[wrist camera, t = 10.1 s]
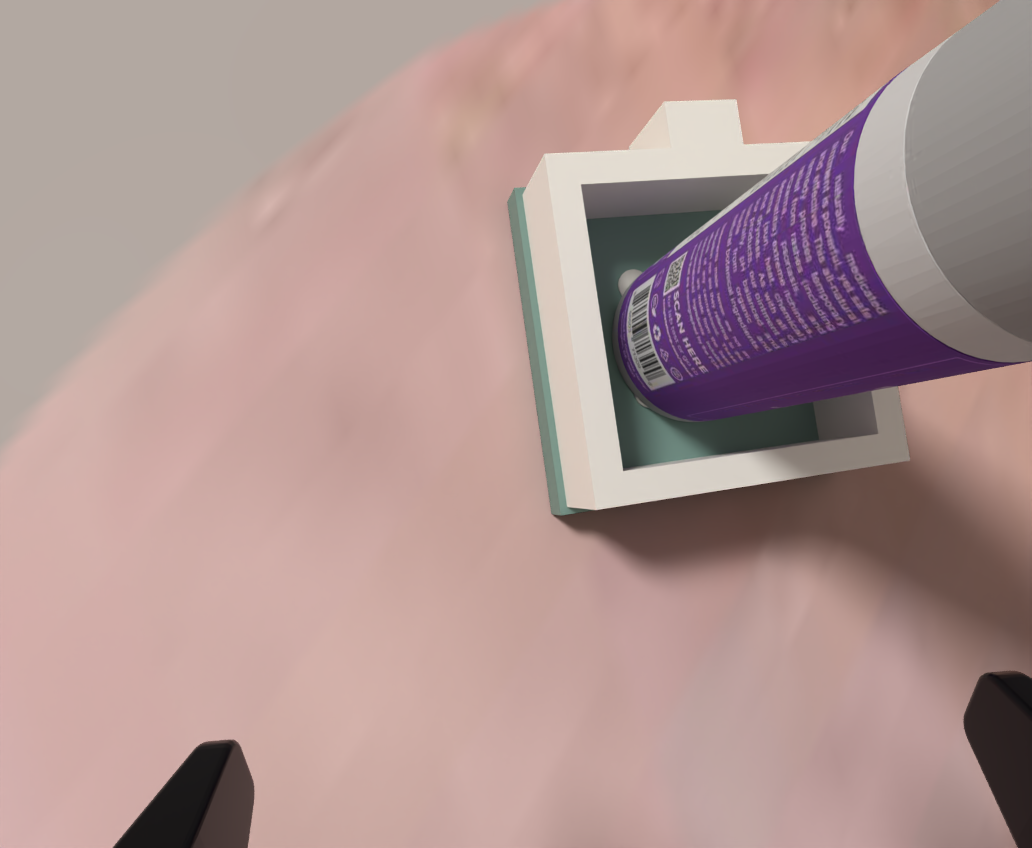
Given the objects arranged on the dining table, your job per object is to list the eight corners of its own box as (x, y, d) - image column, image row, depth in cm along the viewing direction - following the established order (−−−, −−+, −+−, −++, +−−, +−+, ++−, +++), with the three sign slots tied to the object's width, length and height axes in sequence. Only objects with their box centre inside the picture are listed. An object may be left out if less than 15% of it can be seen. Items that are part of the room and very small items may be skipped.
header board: (833, 470, 22) (918, 467, 19) (551, 513, 20) (588, 520, 17) (781, 154, 23) (854, 95, 19) (502, 168, 21) (529, 105, 17)
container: (724, 453, 20) (1655, 368, 6) (582, 371, 20) (1215, 34, 5) (790, 311, 21) (1753, -83, 6) (655, 228, 20) (1389, -423, 6)
